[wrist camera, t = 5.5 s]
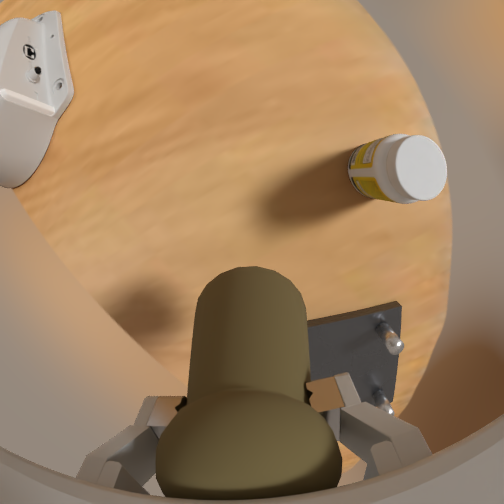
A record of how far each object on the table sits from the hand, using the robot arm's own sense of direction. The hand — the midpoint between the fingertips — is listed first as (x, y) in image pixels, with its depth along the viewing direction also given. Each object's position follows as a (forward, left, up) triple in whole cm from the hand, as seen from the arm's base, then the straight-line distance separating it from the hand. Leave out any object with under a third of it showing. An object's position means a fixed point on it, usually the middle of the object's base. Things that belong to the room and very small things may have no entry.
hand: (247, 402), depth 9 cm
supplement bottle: (-7, +11, -16) cm, 21 cm away
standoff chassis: (+12, +6, -16) cm, 21 cm away
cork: (0, 0, -7) cm, 7 cm away
